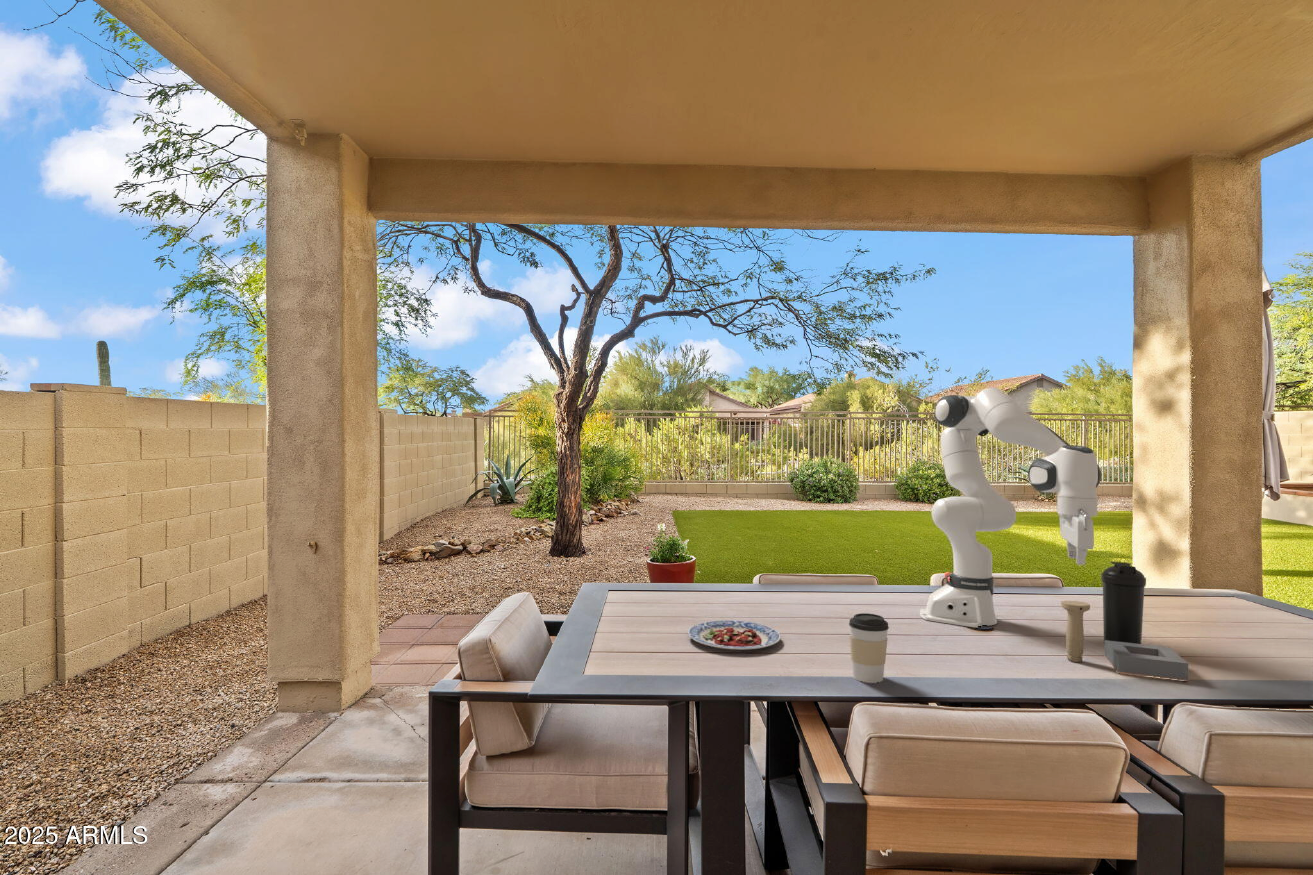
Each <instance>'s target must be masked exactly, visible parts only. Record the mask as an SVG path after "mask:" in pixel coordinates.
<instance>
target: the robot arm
mask: <svg viewBox="0 0 1313 875" xmlns="http://www.w3.org/2000/svg"><path fill="white" fill-rule="evenodd" d="M934 419H935V421H936V422H937V424H939V425H940V426H942V427H946V428H945V429H943V431H942V432H941V433H940V452H941V459H942V463H943V464H942V465H943V470H944V473H945V478H946V482H947V483H948V484H949V486H951V487H952V488H954V489H956V490H958V491H960V492H961V493H962V494H963V495H964V496H954V495H953V496H949V497H944V498H939V499H937V500H936V501H935V502H934V504H933V505H932V507H931V508H932V509H931V513H930V514H931V519H932V521H933V523H934V525H935V526H936V527H937V528H938V529H940V531H942V532H943V534H945V535H946V537H947V538H948V540H949V543H950V545H951V550H952V557H953V558H952V560H953V562H952V563H953V572H949V571H946V572H944V578H945V580H946V581H945V582H946V584H944V585H943V586H942V587H940V588H938V589H937V590H935V591H933V592H931V594H930V595H929V597H928V598H927V603H926V606H925V607H921V608H920V609H919V617H920V618H922V619H923V620H924V621H931V622H937V623H944V624H949V625H956V626H961V627H962V626H963V627H970V628H979V627H978V626H981V625H987V626H988V627H989V626H994V625H997V624H998V619H997V616H996V613H995V607H994V598H993V596H994V592H995V580H994V576H993V553H992V551H991V550H990V548H988V547H987V546H986V545H985V544H982V543H981V542H979V541H978V539H977V535H976V532H998V531H1005V530H1009V529H1011V528H1012V527H1013V526H1014V524H1015V522H1016V520H1017V519H1016V518H1017V511H1016V507H1015V506H1014V505H1013V503H1012V502H1011V501H1010V500H1009V499H1007V498H1006V497H1004V496H1003V495H1001V494H1000V493H999V492H998V491H997V490H996V489H995V488H994V487H993V485H992V484H991V482H989V480H988V479H987V477H986V474H985V472H984V468H983V465H982V463H981V462H982V461H981V458H980V453H979V449H978V446H977V437H978V436H980V437H985V436H988V434H991V436H993V437H994V438H996V439H997V440H998V441H1000V442H1003V443H1006V444H1011V445H1018V446H1022V447H1023V446H1024V447H1028V448H1032V449H1036V450H1038V451H1040V452H1041V453H1043V454H1045V455H1046V456H1044V457H1039V458H1036V459H1034V460H1033V461H1032V462H1031V464H1030V465H1029V467H1028V473H1027V475H1028V481H1029V484H1030V485H1031V487H1033V489H1035V490H1036V491H1037V492H1041V493H1057V495H1056V498H1057V499H1056V513H1057V514H1058V517H1059V528H1060V529H1059V530H1060V536H1061V538H1062V539H1064V540H1066V547H1067V548H1066V549H1067V557H1068V558H1069V559H1073V560H1075V563H1076V564H1077V565H1078V566H1085V565H1086V558H1087V555H1088V550H1093V549H1094V546H1095V538H1094V537H1095V534H1094V522H1093V519H1092V517H1097V516H1098V498H1099V497H1098V494H1097V490H1096V489H1097V488H1098V487H1099V485H1100V483H1101V481H1102V470H1101V468H1100V466H1099V464H1098V460H1097V456H1096V452H1095V451H1094V450H1093V449H1092V448H1091V447H1088V446H1084V445H1073V444H1069V442H1067V441H1066V440H1064V439H1063V437H1061V435H1059V434H1058V433H1056V432H1055V431H1054V430H1053V429H1052V428H1050V427H1049V426H1047V425H1046V424H1044V423H1042V422H1041V421H1039V420H1037V419H1035V418H1034V417H1033V416H1031V414H1029V413H1028V412H1027V411H1025V410H1024V409H1023V408H1022V407H1021V406H1020V405H1019V404H1018V403H1017V401H1016V400H1014V399H1013V398H1012V397H1011V396H1010V395H1008V394H1007V393H1006V392H1004V391H1003V390H1001V389H1000V388H997V387H987V388H985V389H982V390H981V391H979V392H978V393H977V394H976V396H975V395H958V394H951V395H944V396H942V397H941V398H939V399H938V401H937V402H936V403H935V407H934ZM987 626H986V627H987ZM981 627H982V626H981Z"/></svg>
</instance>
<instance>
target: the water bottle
mask: <svg viewBox="0 0 1313 875" xmlns="http://www.w3.org/2000/svg"><path fill="white" fill-rule="evenodd" d="M1110 564H1113V566H1109V567H1107V568H1105V569H1104V570H1103V572H1101V574H1100V575H1101V577H1100V578H1101V579H1100V580H1101V582H1102V609H1103V610H1102V611H1103V613H1102V615H1103V617H1102V620H1103V623H1102V624H1103V645H1104V646H1105V640H1108V641H1117V642H1126V643H1135V644H1142V638H1143V637H1142V636H1143V620H1144V619H1143V617H1144V598H1145V587H1146V585H1147V578H1146V577H1145V575H1144V574H1143V573H1142V572H1141V571H1140V570H1138V569H1137V568H1136V566H1132V565H1131V563H1130V562H1121V561H1120V562H1119V561H1118V562H1117V561H1111V562H1110Z"/></svg>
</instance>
